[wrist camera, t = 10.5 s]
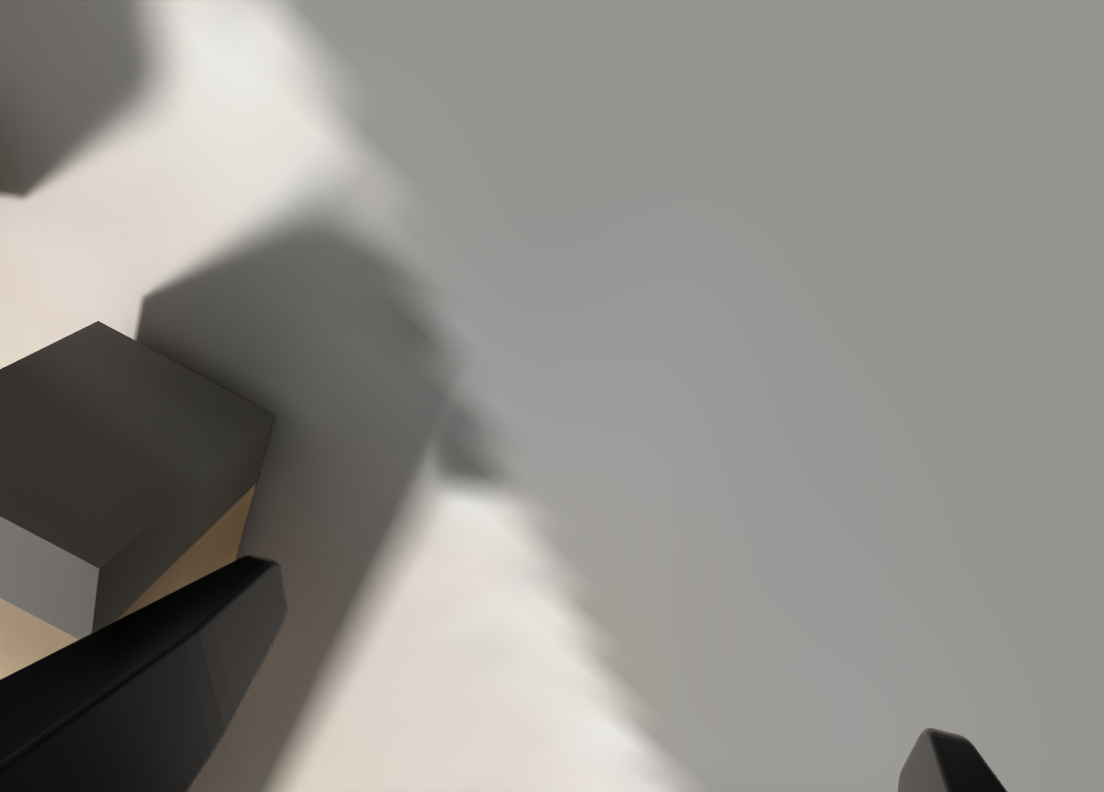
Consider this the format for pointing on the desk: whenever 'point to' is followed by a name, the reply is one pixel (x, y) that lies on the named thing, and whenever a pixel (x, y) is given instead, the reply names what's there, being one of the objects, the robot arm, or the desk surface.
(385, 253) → the desk surface
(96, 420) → the hinged leg
